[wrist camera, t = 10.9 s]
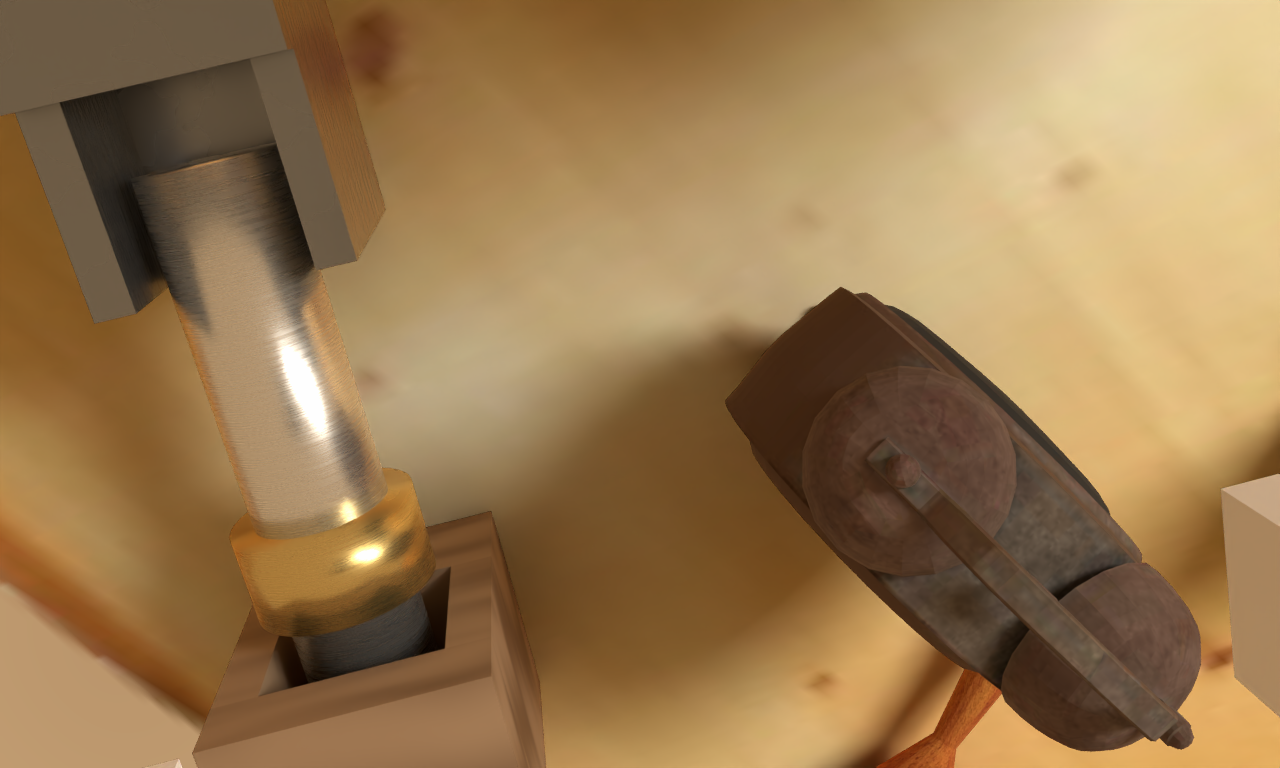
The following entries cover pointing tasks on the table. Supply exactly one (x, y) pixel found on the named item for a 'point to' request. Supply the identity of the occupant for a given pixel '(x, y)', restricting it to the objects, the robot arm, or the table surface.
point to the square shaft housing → (180, 121)
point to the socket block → (395, 684)
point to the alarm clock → (969, 524)
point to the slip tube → (290, 418)
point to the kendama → (950, 725)
